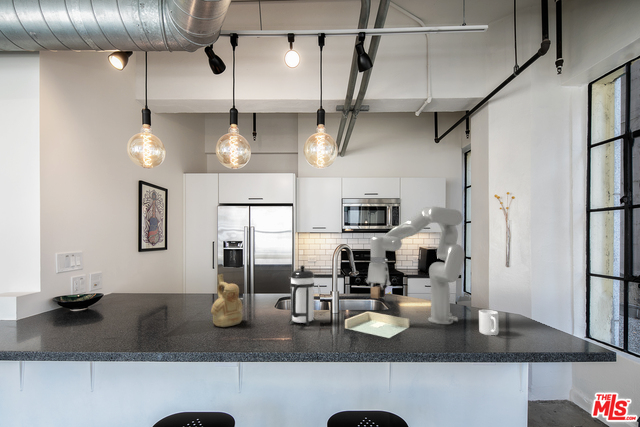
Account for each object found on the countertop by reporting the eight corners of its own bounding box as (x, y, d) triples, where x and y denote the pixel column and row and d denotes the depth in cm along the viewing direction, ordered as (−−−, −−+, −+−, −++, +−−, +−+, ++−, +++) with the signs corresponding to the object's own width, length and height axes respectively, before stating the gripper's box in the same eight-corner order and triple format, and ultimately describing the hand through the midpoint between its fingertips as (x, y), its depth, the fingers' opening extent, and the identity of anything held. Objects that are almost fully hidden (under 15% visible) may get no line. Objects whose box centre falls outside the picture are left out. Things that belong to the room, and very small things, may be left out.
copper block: (377, 298, 170) (377, 288, 170) (370, 297, 172) (370, 287, 172) (385, 296, 176) (385, 286, 176) (378, 295, 179) (378, 285, 179)
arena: (409, 328, 170) (409, 318, 170) (389, 339, 153) (389, 328, 153) (367, 319, 185) (367, 311, 185) (344, 329, 168) (344, 319, 168)
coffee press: (282, 320, 182) (282, 264, 183) (310, 317, 188) (310, 263, 190) (292, 329, 166) (293, 268, 167) (322, 326, 172) (322, 266, 174)
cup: (493, 330, 166) (493, 309, 167) (505, 338, 154) (505, 315, 155) (476, 330, 167) (476, 309, 167) (487, 338, 155) (486, 315, 155)
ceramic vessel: (219, 331, 163) (220, 279, 164) (203, 322, 178) (204, 274, 179) (250, 324, 175) (251, 275, 176) (233, 317, 189) (233, 272, 190)
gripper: (396, 261, 173) (396, 297, 172) (367, 259, 183) (367, 293, 182) (389, 262, 167) (389, 299, 166) (360, 260, 177) (360, 295, 176)
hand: (378, 296), depth 174 cm, fingers closed on copper block, 4 cm apart
